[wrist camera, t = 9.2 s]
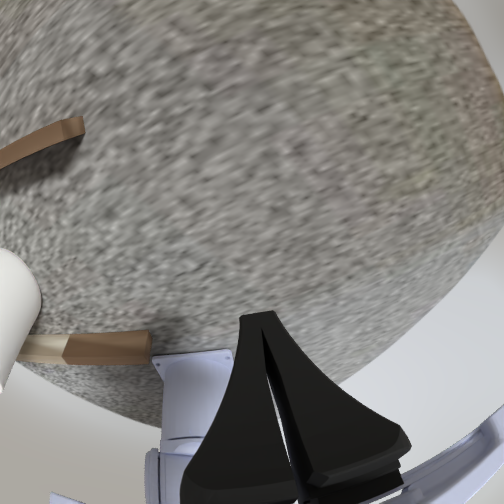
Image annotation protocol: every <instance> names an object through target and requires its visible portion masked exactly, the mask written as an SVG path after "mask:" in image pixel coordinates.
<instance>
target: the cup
mask: <svg viewBox="0 0 504 504" xmlns="http://www.w3.org/2000/svg"><path fill="white" fill-rule="evenodd" d="M40 308H41V293H40V288H39V285H38V283H37V281H36V279H35V277H34V275H33V273H32V272H31V270H30V269H29V267H28V266H27V265H26V264H25V263H24V261H23V260H22V259H21V258H19V257H18V256H17V255H16V254H14V253H13V252H11V251H10V250H7V249H5V248H0V394H1V393H2V392H3V389H4V387H5V384H6V382H7V379H8V377H9V374H10V372H11V369H12V367H13V365H14V362H15V360H16V358H17V356H18V354H19V352H20V349H21V347H22V345H23V343H24V341H25V339H26V337H27V335H28V333H29V331H30V329H31V327H32V325H33V324H34V322H35V320H36V318H37V316H38V314H39V311H40Z"/></svg>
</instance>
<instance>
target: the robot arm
mask: <svg viewBox="0 0 504 504" xmlns="http://www.w3.org/2000/svg"><path fill="white" fill-rule="evenodd" d="M239 321H240V329H239V339H238V345H237V351H236V356H235V360H234V361H233V356H232V352H231V350H229V349H222V350H214V351H206V352H197V353H187V354H176V355H163V356H153V357H152V363H153V365H154V366H155V368H156V370H157V372H158V373H159V375H160V377H161V378H162V380H163V382H164V390H163V408H162V436H161V440H160V452H158V449H157V448H152V449H151V451H149V452H147V453H146V457H145V498H146V504H293V503H294V502H295V501H296V500H298V504H369V503H371V502H374V501H376V500H378V499H381V498H383V497H386V496H388V495H390V494H392V493H394V492H396V491H398V490H400V489H403V490H402V493H401V494H400V495H399V496H396V497H393V498H391V499H389V500H386V501H384V502H382V503H379V504H465V503H466V502H467V501H468V500H469V499H470V498H471V497H472V496H473V495H474V494H476V493H477V492H478V491H479V490H480V489H481V488H482V487H483V486H484V485H485V483H487V482H488V481H489V479H490V478H491V477H492V476H493V475H494V474H495V473H496V472H497V471H498V470H499V468H500V467H501V466H502V465H503V464H504V404H503V405H502V406H501V407H500V408H499V409H498V410H497V411H496V412H494V413H493V414H492V415H491V416H489V417H488V418H487V419H486V420H485V421H484V422H483V423H481V424H480V426H479V427H477V428H476V429H475V430H473V431H472V432H471V433H469V434H468V435H466V436H465V437H464V438H462V439H461V440H460V441H458V442H457V443H455V444H453V445H452V446H450V447H449V448H447V449H446V450H444V451H443V452H441V453H440V454H438V455H436V456H435V457H433V458H431V459H430V460H428V461H426V462H424V463H422V464H421V465H419V466H417V467H415V468H413V469H411V470H409V471H407V472H405V473H403V474H400V472H399V469H398V468H400V467H401V465H400V462H399V460H398V459H399V458H400V457H402V456H403V455H404V454H406V453H407V452H408V451H409V450H410V449H411V447H412V445H411V443H410V441H409V439H408V437H407V435H406V434H405V432H404V431H403V429H402V428H401V426H400V425H398V424H396V423H394V422H392V421H390V420H388V419H387V418H385V417H383V416H381V415H379V414H377V413H376V412H374V411H373V410H371V409H369V408H368V407H366V406H364V405H363V404H362V403H360V402H359V401H357V400H356V399H355V398H353V397H352V396H350V395H349V394H347V393H346V392H345V391H344V390H342V389H341V388H340V387H339V386H337V385H336V384H335V383H334V382H333V381H332V380H330V379H329V378H328V377H327V376H326V375H325V374H324V373H323V372H322V371H321V370H320V369H319V368H318V367H317V366H316V365H315V364H314V363H313V362H312V361H311V360H310V359H309V358H308V357H307V355H306V354H305V353H304V352H303V351H302V350H301V348H300V347H299V346H298V345H297V344H296V342H295V341H294V340H293V338H292V337H291V336H290V334H289V333H288V332H287V330H286V329H285V327H284V326H283V324H282V323H281V321H280V320H279V318H278V316H277V314H276V312H274V311H273V310H272V311H266V312H260V313H253V314H247V315H242V316H241V317H239ZM266 373H267V374H266ZM267 377H268V380H269V383H270V386H271V389H272V392H273V395H274V399H275V402H276V405H277V408H278V411H279V414H280V418H281V422H282V427H283V431H284V436H285V441H286V445H287V450H288V455H289V459H290V462H289V459H288V456H287V452H286V449H285V445H284V442H283V438H282V434H281V431H280V427H279V423H278V420H277V416H276V412H275V408H274V404H273V400H272V396H271V392H270V388H269V384H268V380H267ZM290 464H291V466H290ZM50 504H85V503H83V502H80V501H77V500H74V499H71V498H68V497H65V496H62V495H59V494H56V493H54V492H51V493H50Z"/></svg>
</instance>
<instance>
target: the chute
mask: <svg viewBox="0 0 504 504" xmlns="http://www.w3.org/2000/svg"><path fill="white" fill-rule="evenodd" d="M84 133H85V128H84V122H83V116H80V117H74V118H69V119H64V120H60V121H57V122H55V123H53V124H50V125H48V126H46V127H44V128H41V129H39V130H37V131H35V132H33V133H31V134H29V135H27V136H25V137H23V138H21V139H19V140H17V141H15V142H13V143H11V144H10V145H8V146H6V147H4V148H2V149H1V150H0V169H2V168H4V167H6V166H8V165H10V164H12V163H14V162H16V161H18V160H20V159H22V158H24V157H26V156H29V155H31V154H33V153H35V152H38V151H40V150H42V149H45V148H47V147H49V146H52V145H54V144H57V143H59V142H62V141H65V140H67V139H70V138H73V137H76V136H78V135H81V134H84ZM151 345H152V336H151V334H150V332H149V330H140V331H127V332H111V333H92V334H58V335H27V337H26V339H25V341H24V343H23V345H22V347H21V349H20V352H19V354H18V356H17V358H16V360H17V361H26V362H37V363H50V364H68V365H139V364H149V359H150V352H151Z"/></svg>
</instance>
